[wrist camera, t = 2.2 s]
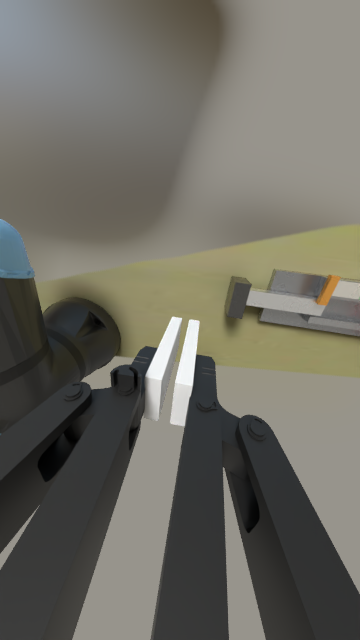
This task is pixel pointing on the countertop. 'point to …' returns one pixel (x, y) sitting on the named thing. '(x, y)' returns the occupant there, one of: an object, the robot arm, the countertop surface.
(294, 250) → the countertop surface
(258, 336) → the countertop surface
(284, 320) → the gauge body
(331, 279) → the plunger
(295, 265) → the countertop surface
